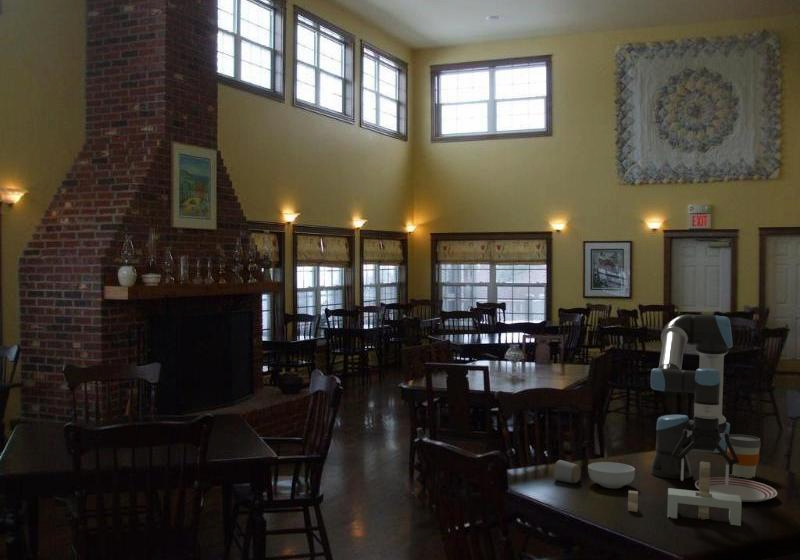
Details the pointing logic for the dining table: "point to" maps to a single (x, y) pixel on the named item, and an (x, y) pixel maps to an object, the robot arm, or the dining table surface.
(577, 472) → the ceramic mug
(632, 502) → the short pin
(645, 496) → the dining table surface
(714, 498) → the bridge
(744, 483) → the dinner plate
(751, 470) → the reusable coffee cup
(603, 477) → the cereal bowl
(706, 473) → the tall pin
